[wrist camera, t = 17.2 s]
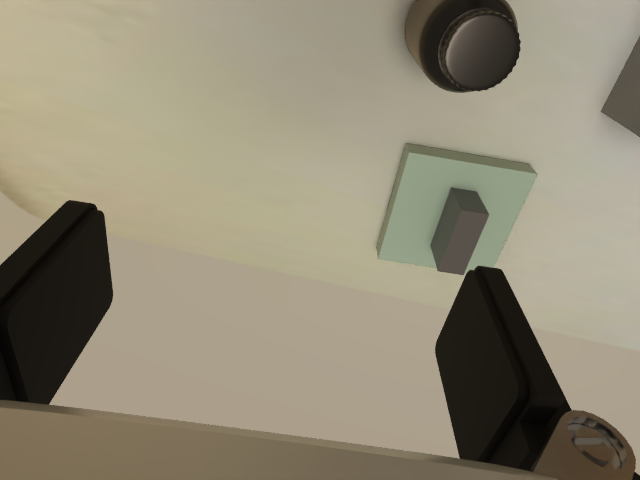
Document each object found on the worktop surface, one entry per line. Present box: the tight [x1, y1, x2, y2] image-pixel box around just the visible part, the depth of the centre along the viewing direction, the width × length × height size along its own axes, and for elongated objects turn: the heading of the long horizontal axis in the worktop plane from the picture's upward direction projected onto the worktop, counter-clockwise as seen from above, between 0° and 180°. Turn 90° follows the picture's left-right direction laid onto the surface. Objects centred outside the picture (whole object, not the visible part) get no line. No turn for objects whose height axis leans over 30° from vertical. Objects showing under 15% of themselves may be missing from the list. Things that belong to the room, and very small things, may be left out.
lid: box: [377, 143, 537, 275], centre depth 45 cm, size 13×13×7 cm
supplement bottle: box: [405, 0, 521, 93], centre depth 33 cm, size 7×7×12 cm
